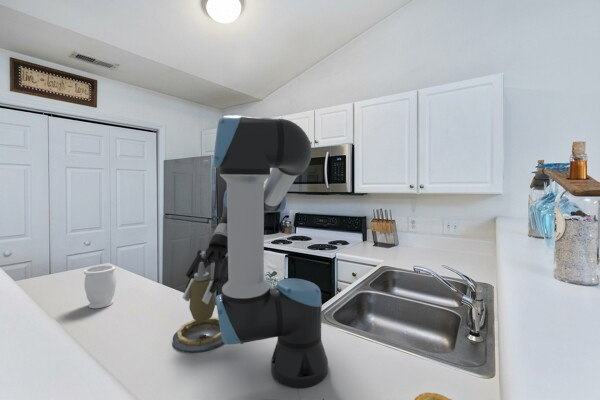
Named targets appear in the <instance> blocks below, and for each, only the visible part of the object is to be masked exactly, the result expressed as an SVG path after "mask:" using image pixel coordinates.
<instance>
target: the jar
mask: <svg viewBox="0 0 600 400" xmlns="http://www.w3.org/2000/svg"><path fill="white" fill-rule="evenodd" d="M115 270H116V265H111V264H110V265H109V264H105V265H97V266H93V267H89V268H86V269H85V270H83V273H84V275H85V277H84V282H83V283H84V291H85V295H86V298H87V301H88V302H89V305H88V307H89V308H90V309H94V310H95V309H102V308H106V307H109V306H111V305H113V304H114V303H115V300H114V299H113V298H114V296H115V293H116V286H117V279H116V278H117V277H116V273H115Z"/></svg>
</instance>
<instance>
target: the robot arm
mask: <svg viewBox="0 0 600 400" xmlns="http://www.w3.org/2000/svg"><path fill="white" fill-rule="evenodd" d="M312 152H313V151H312V144H311V141H310V139H309V137H308V134H307V133H306V132H305V131H304V130H303V128H302V127H301V126H299V125H298V123H295V122H294V121H291V120H289V119H286V118H285V119H284V118H270V117H259V116H248V115H224V116H222V117H220V118H219V119H218V122H217V126H216V135H215V143H214V153H213V162H212V164H213V167H214V168H217V169H219V176H220V177H221V178H222V179H223V180H224V181H225V183H226V190H225V191H224V194H223V199H222V201H223V205H222V214H221V215H222V216H221V218H220V220H219V222H218V224H217V226H216V227H215V230H214V232H213V235H212V236H211V239H210V241H209V244H208V247H207V248H206V250H201V249H200V250H198V251H197V254H196V257H194V258H195V259H194V260H193V261H192V263H191V265H190V267H189V268H188V270H187V272H186V273H185V275H186V277H187V278H188V281H187V284H186V285H185V292H184V293H183V296H182V299H183V300H185V301H186V302H190V292H191V283H192V281H194V274H195V273H198V268H199V263H200V262H203V263H204V267H205V270H206V269H207V268H208V267H209V266H210V265H211V264H214V270H213V278H211V279H212V281H210V283H209V285H208V287H207V290H206V292H205V294H204V297H203V299H202V301H203V302H204V303H205V304H208V303H209V300H210V298H211V296H212V293H214V294H215V293H216V290H217V288H218V286H219V284H223V286H222V287H221V294H218V295H216V297H215V304H216V305H215V306H216V310H217V318H218V319H219V326H220V331H221V337H222V340H223V342H224V344H225V345H228V346H230V345H238V344H240V345H243V344H244V343H251V342H255V341H261V340H267V339H274V338H276V337H277V341H276V344H275V348H274V349H273V353H272V357H271V359H270V372H271V375H272V377H273V378H274V379H275V381H277V382H278V383H279V384H281V385H283V386H286V387H289V388H294V389H295V388H296V389H297V388H298V389H302V388H303V389H304V388H310V387H313V386H315V385H318V384H319V383H321V382H322V381H323V380H324V379H325V378H326V377H327V375H328V373H329V372H328V371H329V368H328V367H329V360H328V357H327V354H326V351H325V347H324V345H323V342H322V306H323V302H322V292H321V289H320V287H319V286H318V285H317V284H315V283H314V282H311V281H309V280H305V279H302V278H283V279H280V280H278V281H277V282H276V285H275V286H276V287H273V288H271V285H270V283H269V282H268V280H266V279H265V264H264V263H265V252H264V251H265V247H264V246H265V245H264V244H265V240H264V239H265V232H264V231H265V230H264V227H265V224H264V223H265V213H277V212H278V213H280V212H283V211H285V209H286V204H287V198H286V194H287V193H288V191H289V190H290V188H291V186H292V185H293V184H294V181H296V178H297V177H298V176H301V175H302V174H303V173H304V172H305V171H306V170H307V168H308V167H309V165H310V163H311V159H312ZM264 184H265V185H264ZM226 280H227V281H226Z"/></svg>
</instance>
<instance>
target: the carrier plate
mask: <svg viewBox="0 0 600 400" xmlns="http://www.w3.org/2000/svg"><path fill="white" fill-rule="evenodd" d="M224 344H225V343H224V342H223V340H222V337H221V331H220V326H219V319H218V317H211V318H209V319H207V320H204V321H196V320H194V319H192V320H191V321H190V320H189V321H188V322H186V323H184V324H183V325H181V326H180V328H179V329H178V330H177V331H176V332H175V333H174V334H173V337H172V345H173V348H175V349H176V350H177V351H180V352H183V353H187V354H188V353H189V354H193V353H203V352H208V351H211V350H214V349H217V348H219V347H221V346H222V345H224Z"/></svg>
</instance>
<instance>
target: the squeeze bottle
mask: <svg viewBox="0 0 600 400" xmlns="http://www.w3.org/2000/svg"><path fill="white" fill-rule="evenodd" d="M212 279H213V278H211V277H210V272H208V271H206V269H205V267H204V263H203V262H200V263H199V268H198V273H195V274H194V281H192V283H191V292H190V300H189V306H188V307H189V308H188V309H189V312H190V313H191V316H192V318H193V319H192V320H196V321H204V320H207V319H209V318H213V314H214V311H215V308H216V306H217V305H216V297H215V293H212V296H211V298H210V300H209V303H208V304H205V303H204V302H203V301H202V299H203V297H204V294H205V292H206V290H207V287H208V285H209V283H210V281H213V280H212Z"/></svg>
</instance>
